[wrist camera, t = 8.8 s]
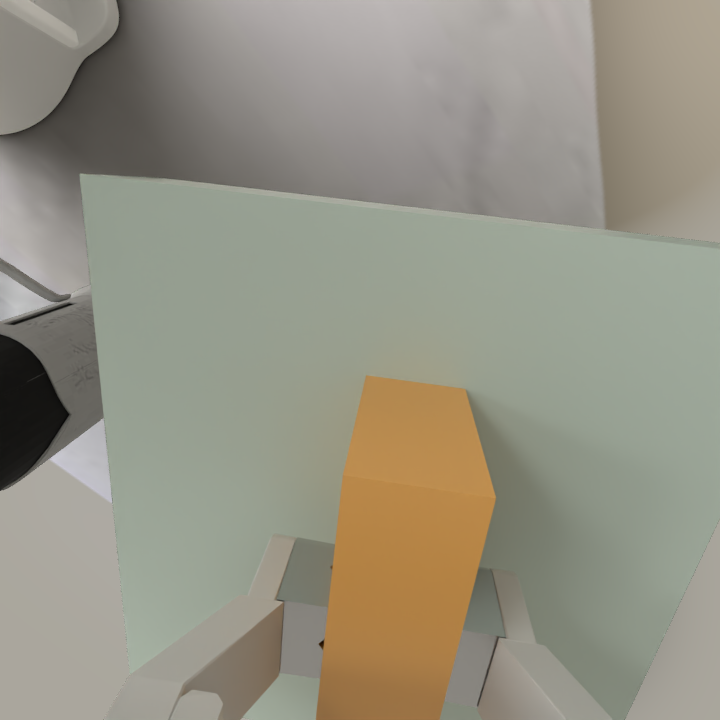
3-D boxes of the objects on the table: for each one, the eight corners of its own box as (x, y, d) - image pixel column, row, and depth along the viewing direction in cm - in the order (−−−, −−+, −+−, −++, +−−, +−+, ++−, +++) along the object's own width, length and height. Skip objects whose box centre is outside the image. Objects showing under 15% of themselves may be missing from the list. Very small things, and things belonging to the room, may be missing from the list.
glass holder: (96, 409, 36) (-98, 547, 22) (-9, 235, 32) (-329, 271, 18) (191, 377, 35) (43, 505, 21) (92, 188, 30) (-177, 188, 16)
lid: (161, 177, 11) (-127, 163, 5) (726, 243, 11) (1155, 316, 4) (179, 611, 16) (44, 858, 10) (562, 676, 16) (658, 984, 10)
